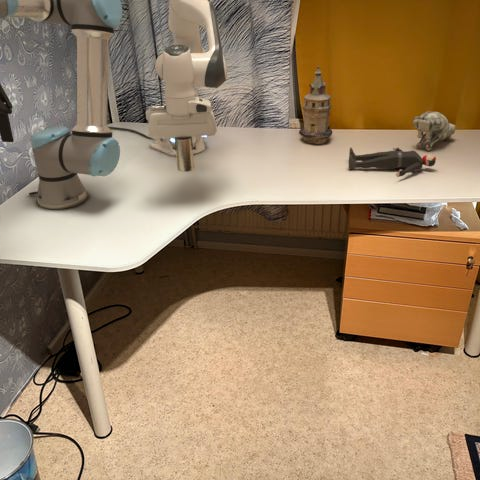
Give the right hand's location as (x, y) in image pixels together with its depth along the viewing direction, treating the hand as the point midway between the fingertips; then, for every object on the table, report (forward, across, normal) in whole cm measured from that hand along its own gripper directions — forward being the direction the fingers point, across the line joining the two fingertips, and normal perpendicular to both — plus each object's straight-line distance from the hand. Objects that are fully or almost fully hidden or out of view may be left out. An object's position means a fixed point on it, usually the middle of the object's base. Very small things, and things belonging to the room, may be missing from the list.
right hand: (184, 150), depth 162 cm
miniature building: (+18, +53, +53) cm, 77 cm away
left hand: (-14, -43, -33) cm, 56 cm away
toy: (+18, +73, +20) cm, 77 cm away
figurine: (+18, +97, +41) cm, 107 cm away
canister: (+6, 0, 0) cm, 6 cm away
